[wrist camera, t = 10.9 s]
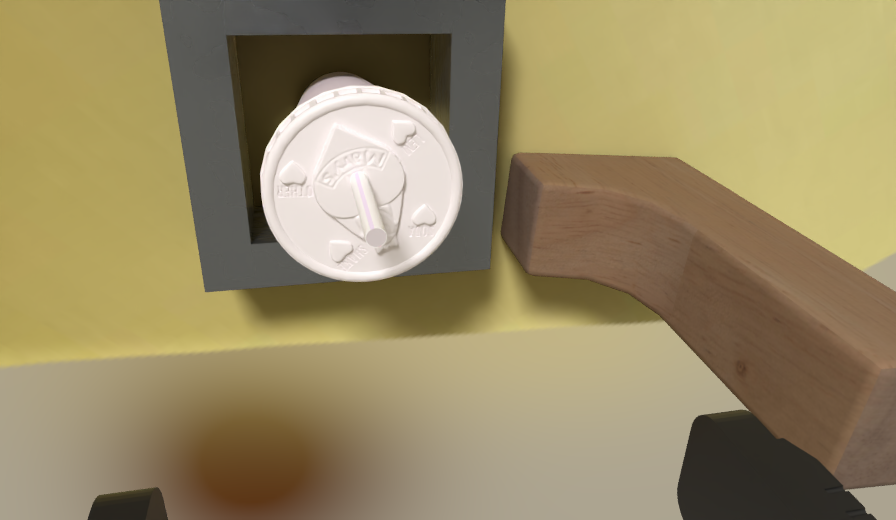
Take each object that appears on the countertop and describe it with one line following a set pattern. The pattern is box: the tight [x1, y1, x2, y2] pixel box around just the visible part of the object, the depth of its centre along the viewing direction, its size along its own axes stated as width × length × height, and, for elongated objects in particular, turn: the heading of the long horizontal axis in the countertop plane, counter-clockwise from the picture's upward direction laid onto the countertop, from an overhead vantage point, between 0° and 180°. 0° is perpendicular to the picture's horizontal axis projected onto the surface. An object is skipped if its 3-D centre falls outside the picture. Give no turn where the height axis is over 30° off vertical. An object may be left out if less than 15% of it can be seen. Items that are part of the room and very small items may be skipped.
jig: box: [159, 0, 506, 292], centre depth 28 cm, size 12×12×4 cm
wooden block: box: [501, 153, 896, 490], centre depth 26 cm, size 9×4×18 cm, turn 85°
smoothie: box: [260, 72, 463, 282], centre depth 23 cm, size 6×6×14 cm
